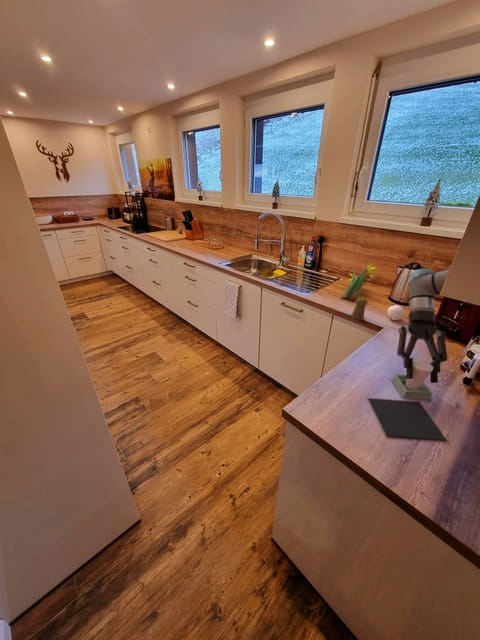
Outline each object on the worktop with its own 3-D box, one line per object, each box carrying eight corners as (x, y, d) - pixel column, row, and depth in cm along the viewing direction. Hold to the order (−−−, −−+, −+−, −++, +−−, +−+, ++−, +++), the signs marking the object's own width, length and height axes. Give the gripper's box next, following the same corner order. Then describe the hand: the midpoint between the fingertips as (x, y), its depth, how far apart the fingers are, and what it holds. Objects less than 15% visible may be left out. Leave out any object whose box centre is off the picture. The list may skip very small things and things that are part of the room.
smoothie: (416, 396, 86) (432, 362, 79) (397, 384, 90) (411, 351, 84) (426, 389, 89) (442, 355, 82) (407, 378, 94) (421, 345, 87)
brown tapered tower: (348, 317, 136) (354, 298, 131) (354, 314, 140) (359, 295, 134) (360, 321, 132) (365, 302, 127) (365, 318, 136) (371, 298, 130)
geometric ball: (396, 325, 136) (409, 318, 129) (383, 318, 136) (395, 312, 129) (396, 313, 140) (408, 306, 133) (383, 307, 139) (395, 299, 132)
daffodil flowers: (328, 296, 162) (350, 268, 181) (347, 311, 161) (366, 282, 180) (346, 280, 148) (367, 252, 167) (366, 297, 147) (385, 267, 165)
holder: (415, 382, 94) (418, 375, 92) (429, 399, 87) (432, 392, 85) (391, 380, 94) (394, 373, 93) (403, 397, 87) (406, 391, 85)
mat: (418, 402, 85) (419, 401, 85) (445, 440, 73) (446, 439, 73) (368, 399, 86) (369, 398, 86) (387, 436, 74) (387, 435, 73)
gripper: (446, 319, 92) (448, 386, 85) (386, 312, 95) (384, 376, 89) (460, 313, 84) (463, 385, 78) (395, 305, 88) (393, 374, 82)
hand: (421, 380), depth 84 cm, fingers closed on smoothie, 6 cm apart
